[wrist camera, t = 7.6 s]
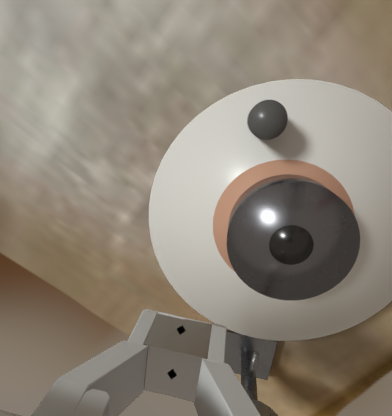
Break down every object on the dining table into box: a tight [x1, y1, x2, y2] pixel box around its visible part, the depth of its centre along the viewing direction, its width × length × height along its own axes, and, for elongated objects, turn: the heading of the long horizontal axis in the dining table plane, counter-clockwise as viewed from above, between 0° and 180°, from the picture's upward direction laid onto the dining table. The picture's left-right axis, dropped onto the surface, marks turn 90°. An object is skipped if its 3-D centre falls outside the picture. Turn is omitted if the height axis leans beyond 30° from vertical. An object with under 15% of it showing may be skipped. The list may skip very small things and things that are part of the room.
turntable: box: [149, 79, 392, 341], centre depth 23 cm, size 22×22×6 cm
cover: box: [227, 174, 360, 300], centre depth 21 cm, size 9×9×3 cm
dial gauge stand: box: [225, 329, 278, 416], centre depth 24 cm, size 6×5×12 cm
